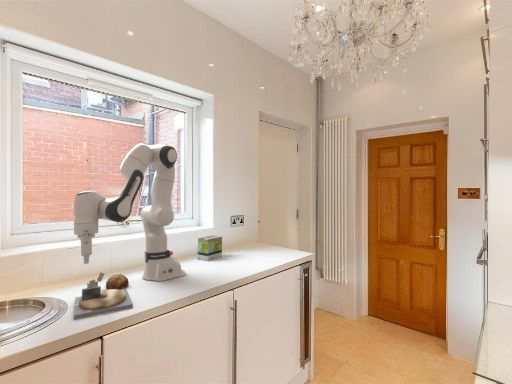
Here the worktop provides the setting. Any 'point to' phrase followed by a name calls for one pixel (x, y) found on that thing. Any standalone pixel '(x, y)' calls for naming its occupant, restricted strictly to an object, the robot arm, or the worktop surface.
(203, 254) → the tea box
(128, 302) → the dial plate
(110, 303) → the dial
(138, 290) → the worktop surface
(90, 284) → the lighter
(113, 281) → the bread roll
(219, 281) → the worktop surface
